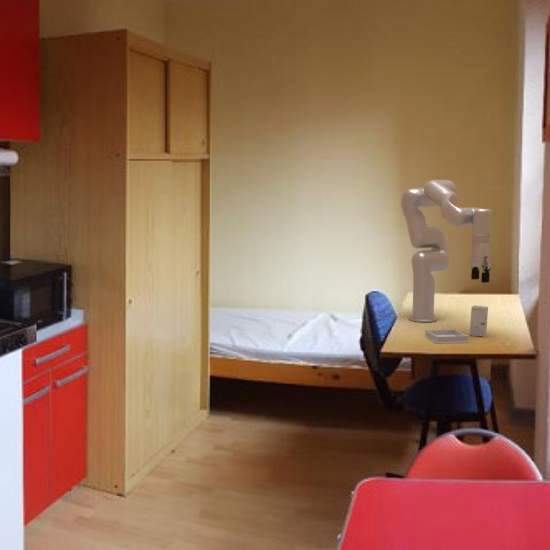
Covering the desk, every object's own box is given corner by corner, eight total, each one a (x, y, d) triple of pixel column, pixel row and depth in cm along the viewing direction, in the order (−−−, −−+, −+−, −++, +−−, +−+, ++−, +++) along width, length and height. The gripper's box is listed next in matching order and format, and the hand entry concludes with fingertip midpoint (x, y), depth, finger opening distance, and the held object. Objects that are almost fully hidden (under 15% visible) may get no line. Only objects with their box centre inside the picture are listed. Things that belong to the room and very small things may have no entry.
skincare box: (469, 335, 324) (470, 306, 322) (472, 333, 328) (473, 305, 326) (484, 337, 321) (485, 308, 319) (487, 335, 325) (488, 306, 323)
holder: (425, 336, 322) (425, 330, 321) (455, 335, 324) (455, 329, 324) (437, 343, 309) (437, 337, 309) (468, 342, 311) (468, 335, 311)
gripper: (464, 237, 327) (463, 278, 329) (481, 241, 310) (480, 283, 312) (481, 237, 328) (479, 277, 330) (499, 240, 311) (498, 283, 313)
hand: (480, 280), depth 321 cm, fingers open, 9 cm apart
